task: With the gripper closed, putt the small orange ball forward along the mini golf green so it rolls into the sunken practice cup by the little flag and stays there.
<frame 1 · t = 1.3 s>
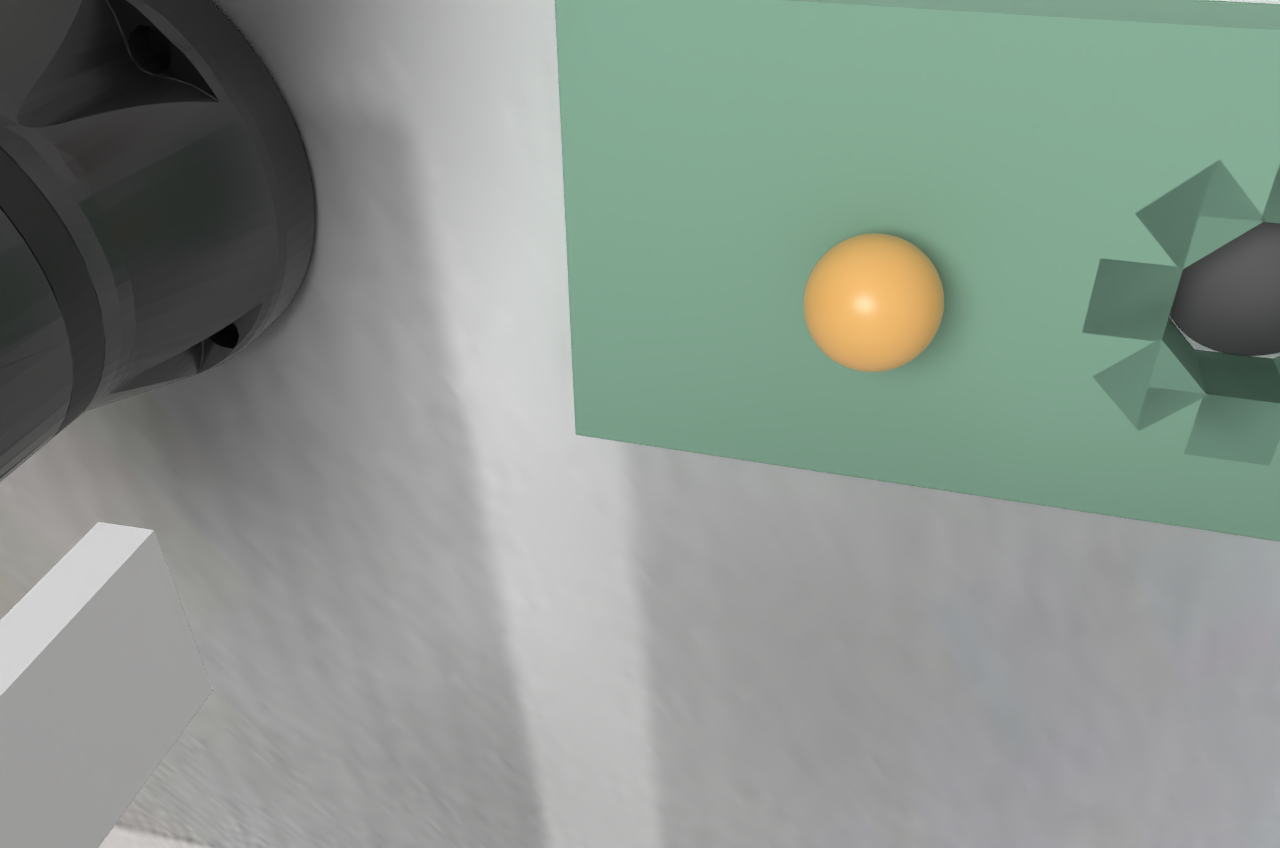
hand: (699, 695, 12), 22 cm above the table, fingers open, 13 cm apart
mini golf green: (993, 247, 32), on the table
ball: (872, 303, 29), point 4 cm above the table, touching mini golf green
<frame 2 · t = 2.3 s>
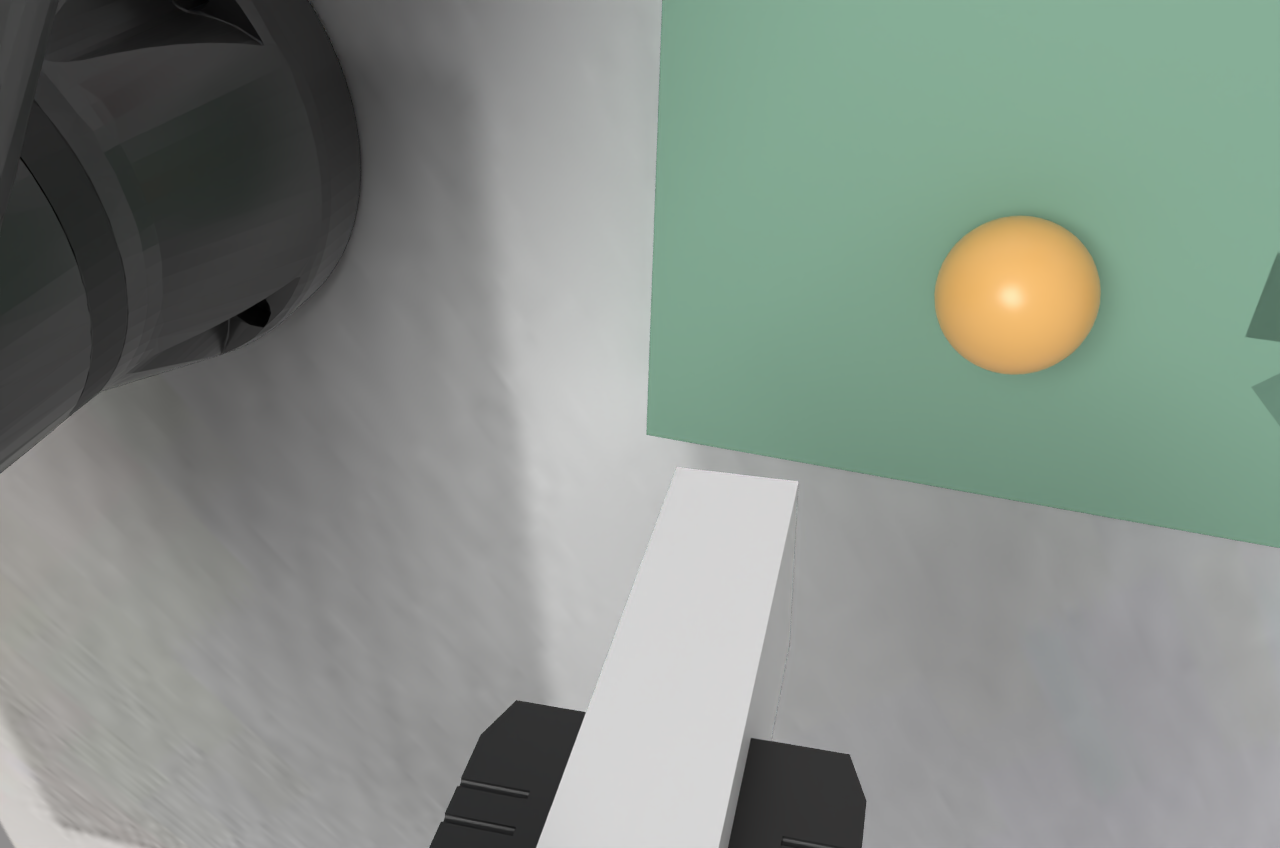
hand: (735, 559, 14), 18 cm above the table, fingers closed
mini golf green: (1137, 238, 28), on the table
ball: (1015, 295, 26), point 4 cm above the table, touching mini golf green
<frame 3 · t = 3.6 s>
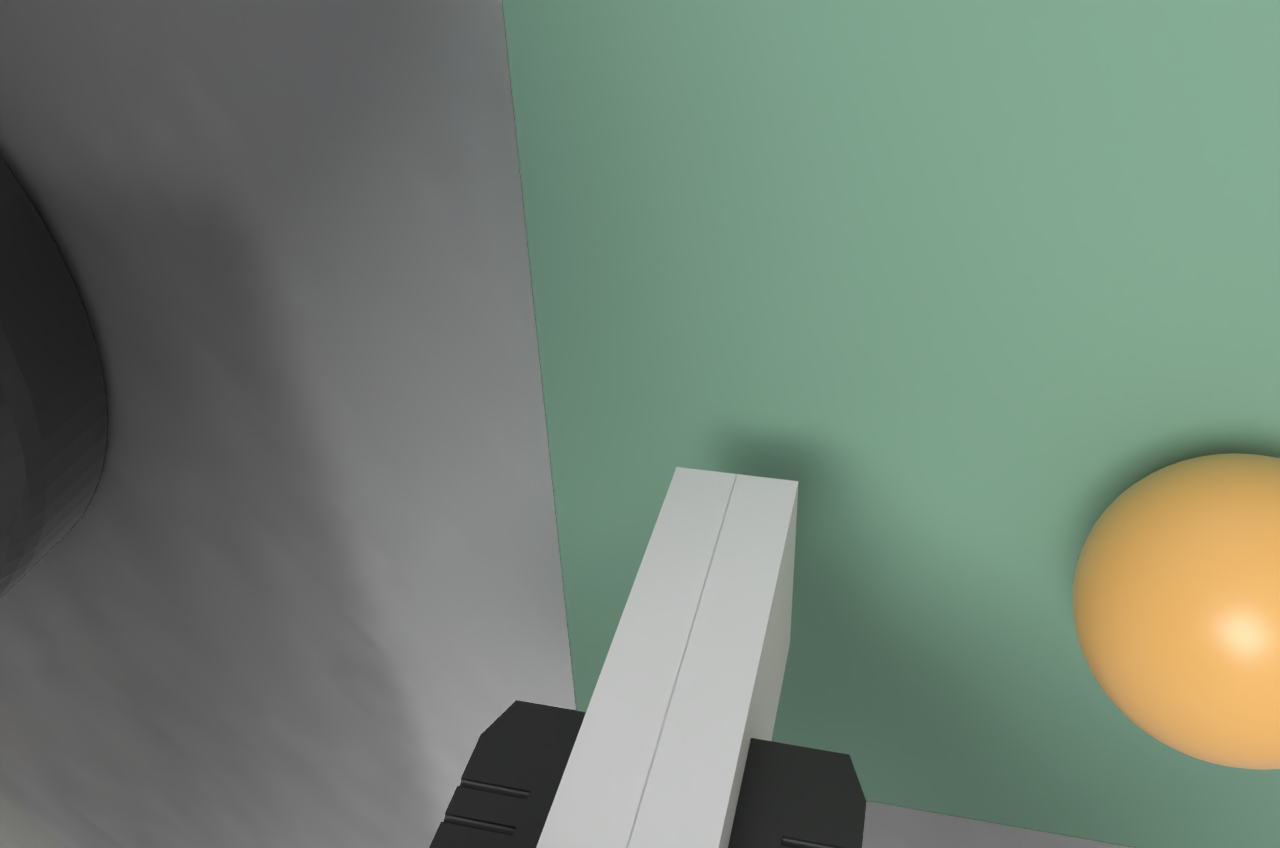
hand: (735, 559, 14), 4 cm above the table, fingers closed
ball: (1237, 608, 13), point 4 cm above the table, touching mini golf green
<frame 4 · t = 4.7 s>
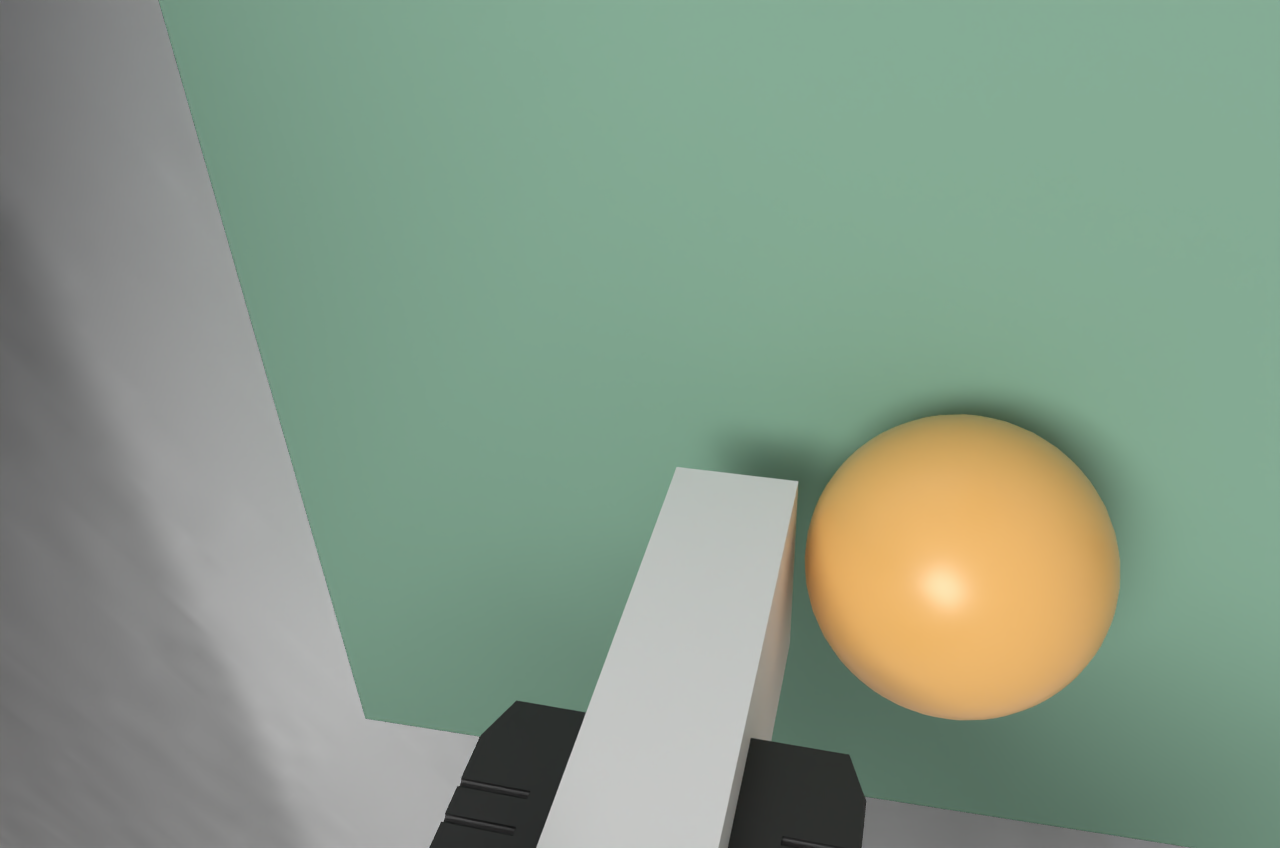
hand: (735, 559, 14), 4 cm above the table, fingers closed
mini golf green: (1103, 386, 16), on the table
ball: (956, 564, 13), point 4 cm above the table, tilted 28°, touching mini golf green
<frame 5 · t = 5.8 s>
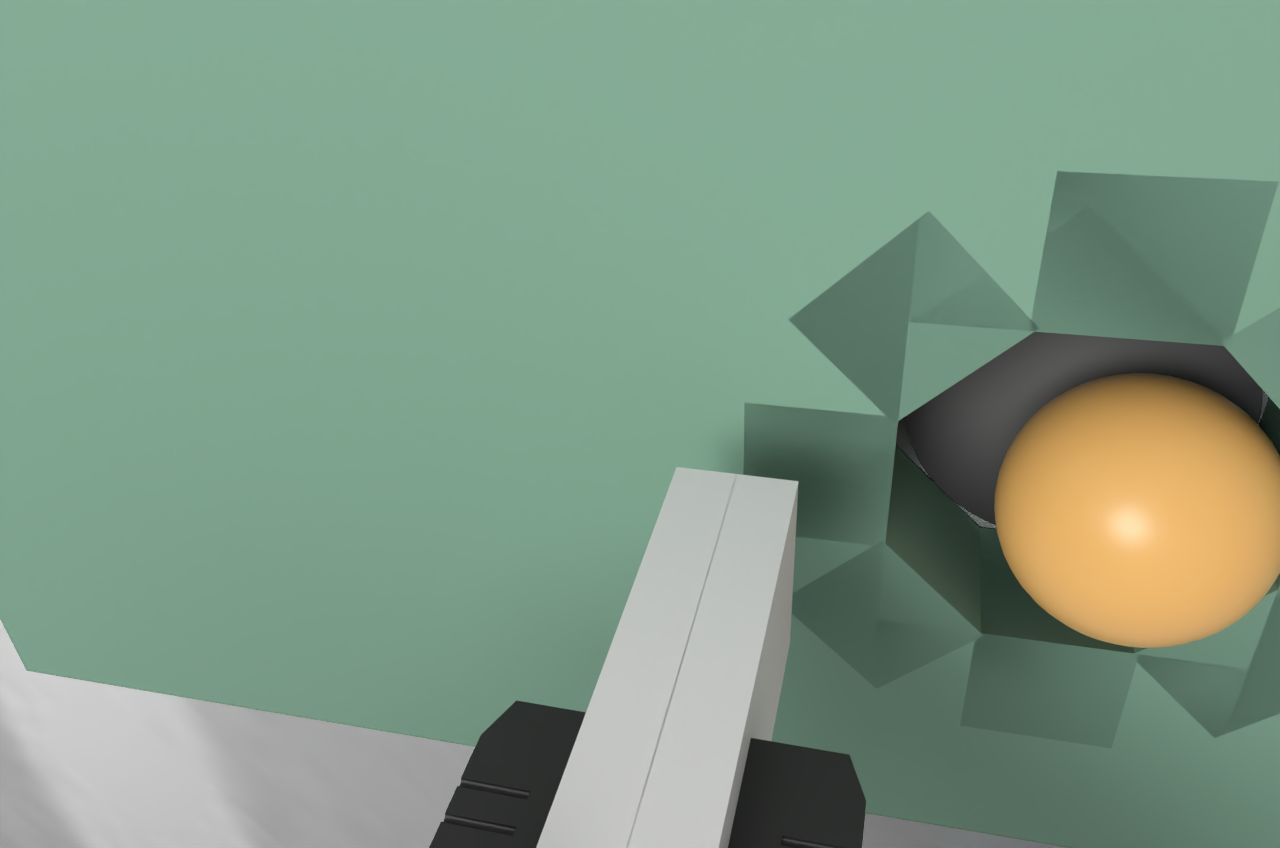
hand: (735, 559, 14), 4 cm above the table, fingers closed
mini golf green: (612, 363, 18), on the table
ball: (1136, 509, 15), point 2 cm above the table, touching mini golf green
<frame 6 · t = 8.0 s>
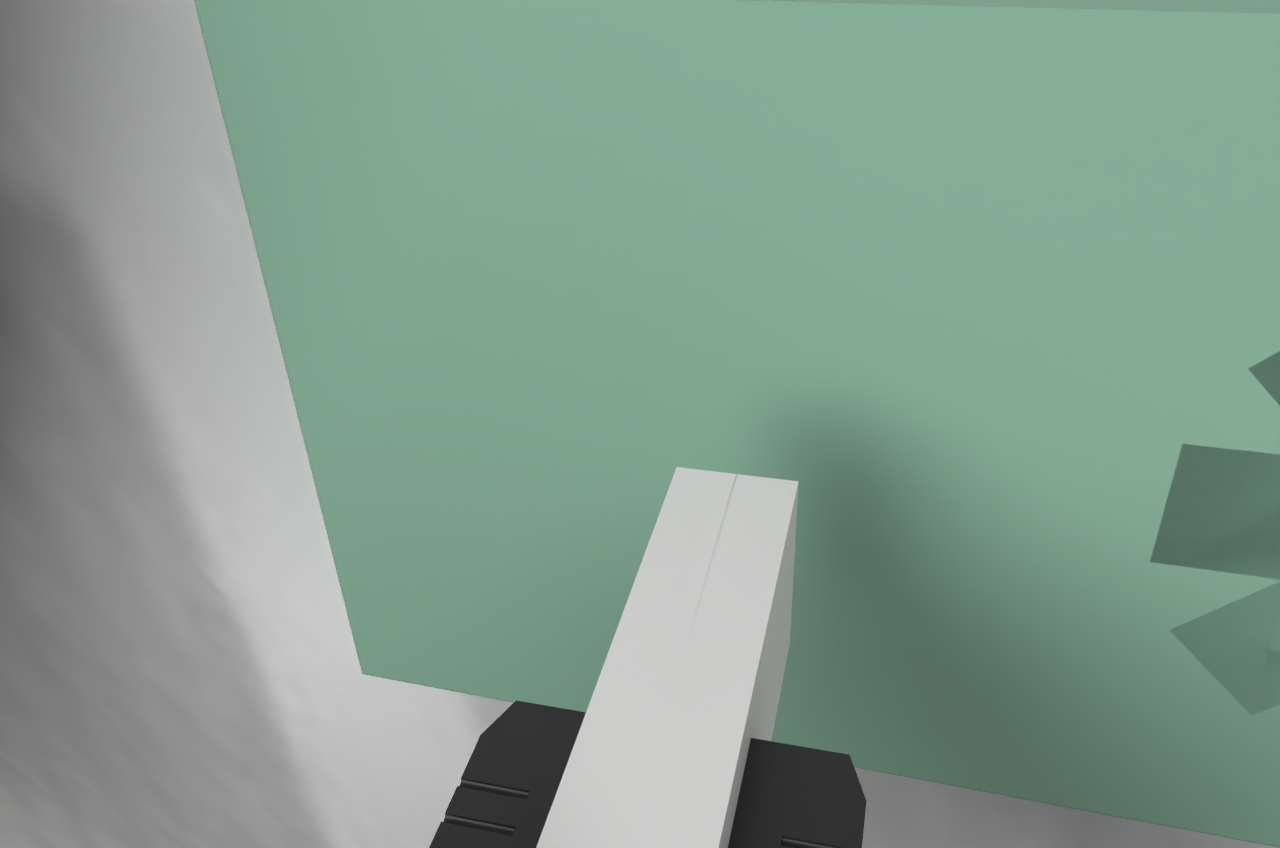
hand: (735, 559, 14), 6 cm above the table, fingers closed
mini golf green: (992, 400, 19), on the table
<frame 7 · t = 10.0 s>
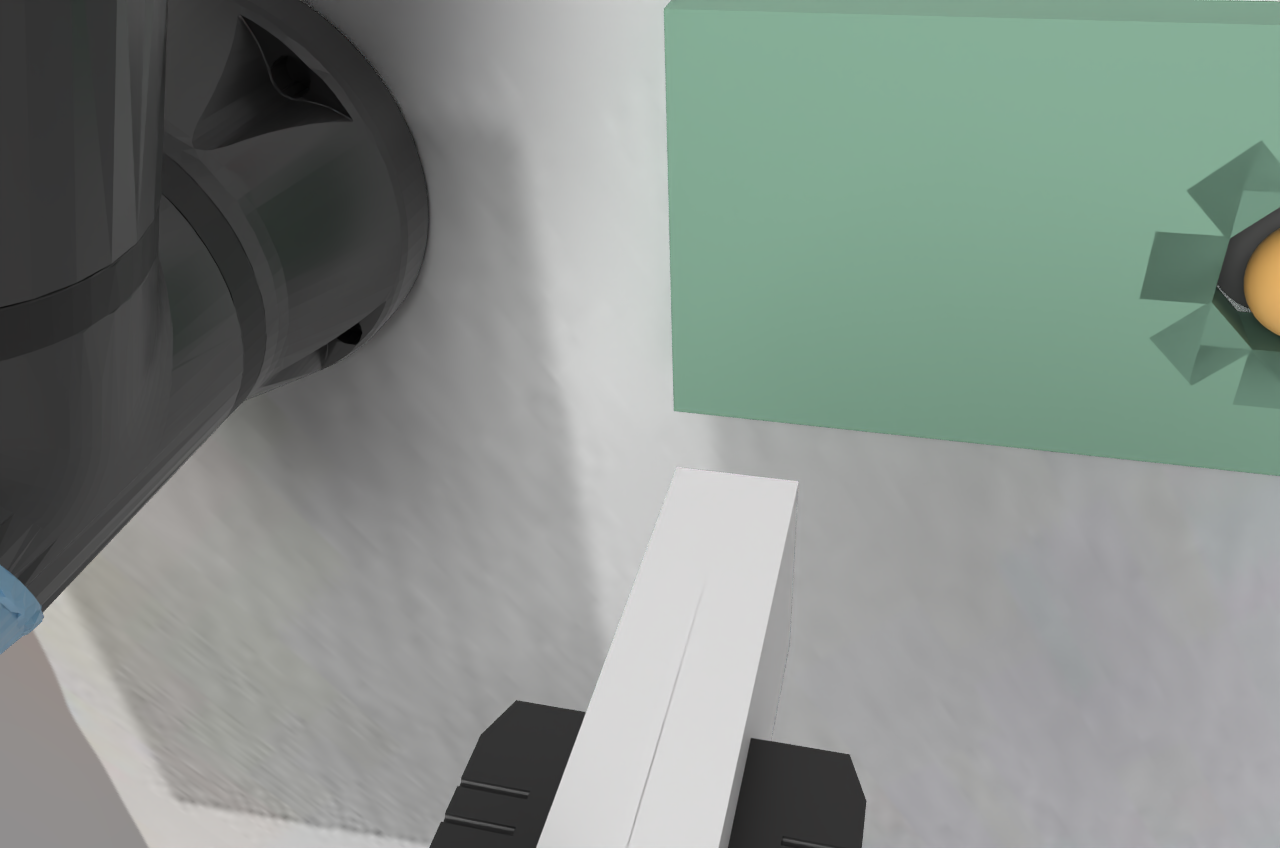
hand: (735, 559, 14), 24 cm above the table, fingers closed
mini golf green: (1054, 226, 36), on the table
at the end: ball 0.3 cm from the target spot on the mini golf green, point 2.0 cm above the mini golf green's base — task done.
